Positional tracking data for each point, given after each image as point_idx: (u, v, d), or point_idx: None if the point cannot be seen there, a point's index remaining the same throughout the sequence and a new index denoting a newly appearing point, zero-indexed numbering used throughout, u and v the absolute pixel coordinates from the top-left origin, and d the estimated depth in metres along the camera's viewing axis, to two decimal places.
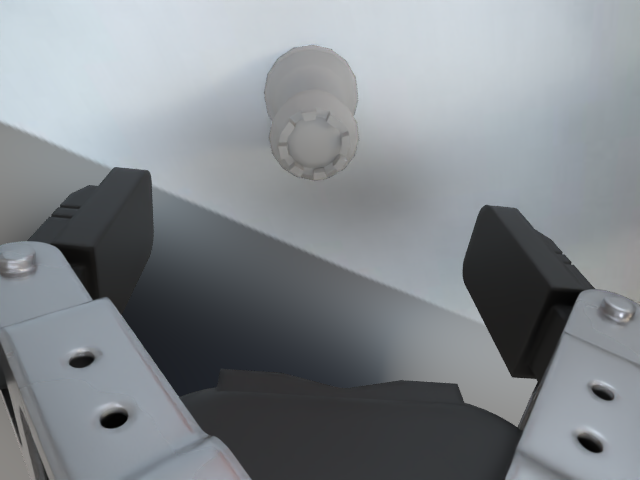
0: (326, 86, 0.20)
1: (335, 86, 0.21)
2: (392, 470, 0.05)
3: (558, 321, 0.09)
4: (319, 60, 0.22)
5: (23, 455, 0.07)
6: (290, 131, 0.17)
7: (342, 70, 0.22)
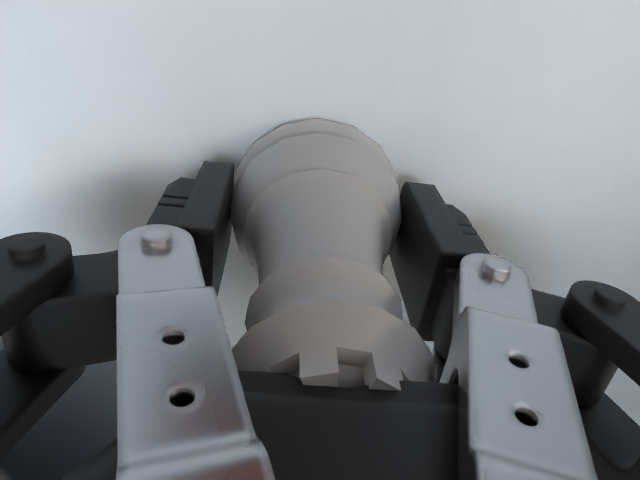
0: (350, 224, 0.10)
1: (366, 216, 0.10)
2: (392, 470, 0.05)
3: (447, 283, 0.09)
4: (333, 156, 0.11)
5: None
6: None
7: (376, 172, 0.11)
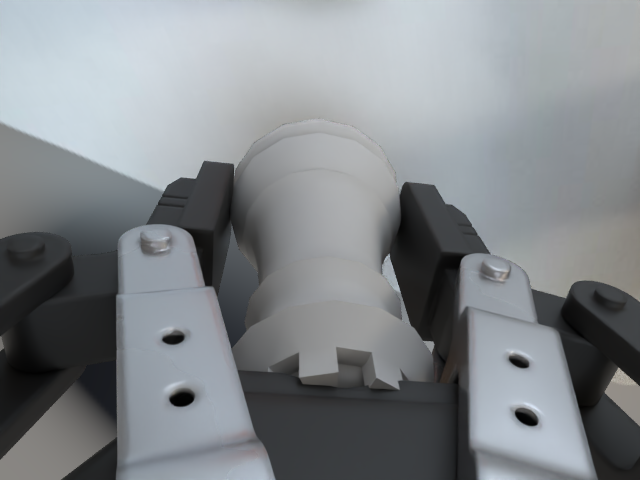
0: (350, 224, 0.10)
1: (366, 216, 0.10)
2: (392, 470, 0.05)
3: (447, 283, 0.09)
4: (332, 156, 0.11)
5: None
6: None
7: (376, 172, 0.12)
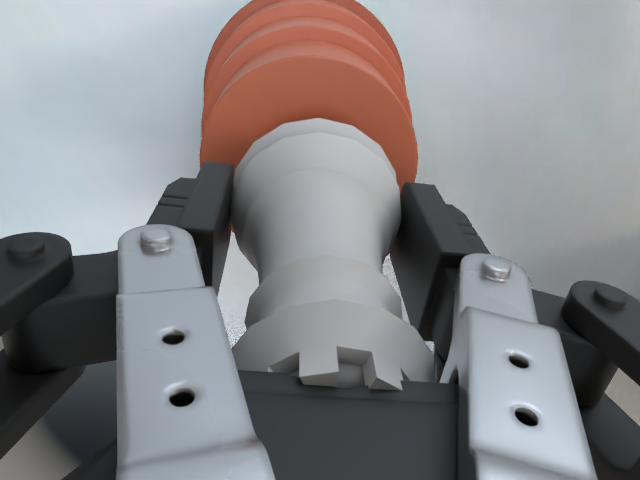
0: (350, 223, 0.10)
1: (366, 215, 0.10)
2: (392, 470, 0.05)
3: (447, 283, 0.09)
4: (333, 155, 0.11)
5: None
6: None
7: (376, 172, 0.11)
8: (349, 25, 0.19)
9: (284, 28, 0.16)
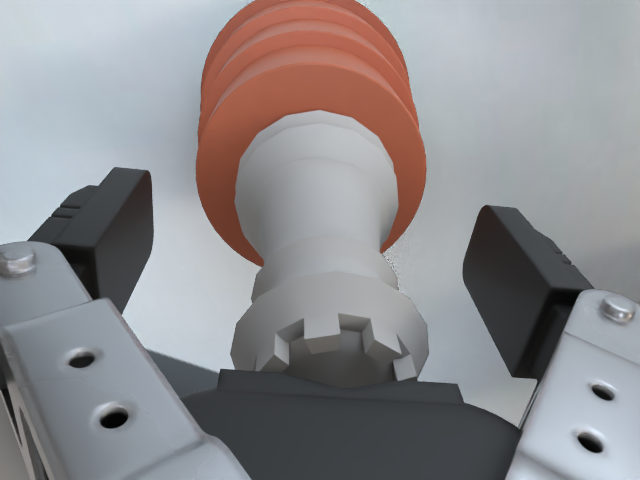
0: (349, 207, 0.10)
1: (365, 201, 0.11)
2: (392, 470, 0.05)
3: (558, 321, 0.09)
4: (333, 145, 0.12)
5: (23, 455, 0.07)
6: None
7: (374, 161, 0.12)
8: (353, 28, 0.18)
9: (285, 32, 0.15)
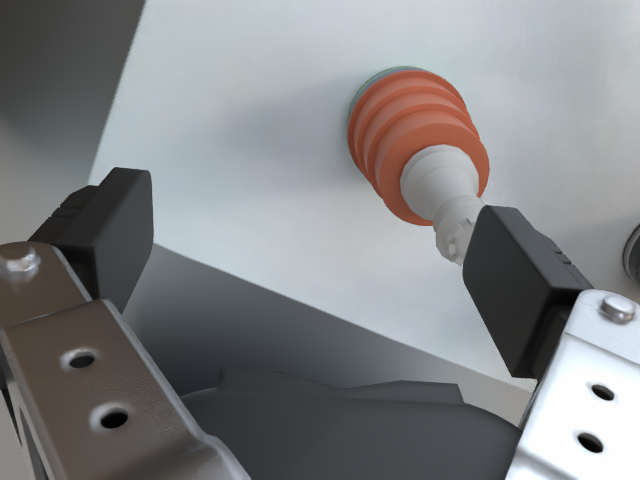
0: (466, 186, 0.26)
1: (470, 184, 0.27)
2: (392, 469, 0.05)
3: (559, 321, 0.09)
4: (454, 160, 0.27)
5: (23, 455, 0.07)
6: (460, 234, 0.23)
7: (470, 167, 0.28)
8: (444, 96, 0.33)
9: (418, 104, 0.31)
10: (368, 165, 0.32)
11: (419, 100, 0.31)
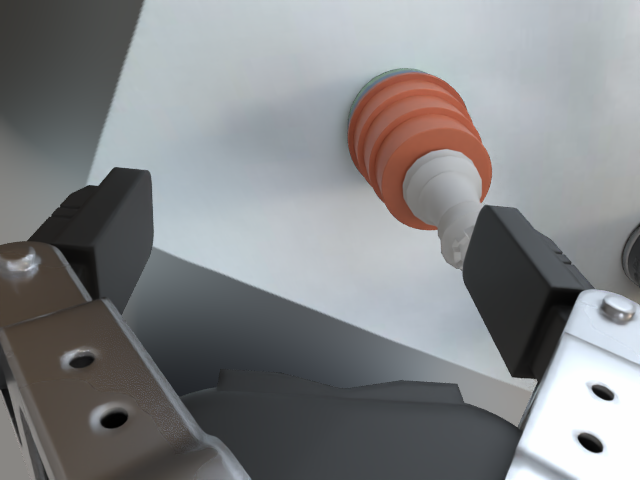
0: (470, 192, 0.26)
1: (473, 189, 0.26)
2: (392, 470, 0.05)
3: (558, 321, 0.09)
4: (457, 165, 0.27)
5: (23, 455, 0.07)
6: (465, 241, 0.22)
7: (474, 172, 0.27)
8: (445, 99, 0.33)
9: (420, 108, 0.30)
10: (370, 169, 0.32)
11: (421, 104, 0.31)
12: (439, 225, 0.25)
